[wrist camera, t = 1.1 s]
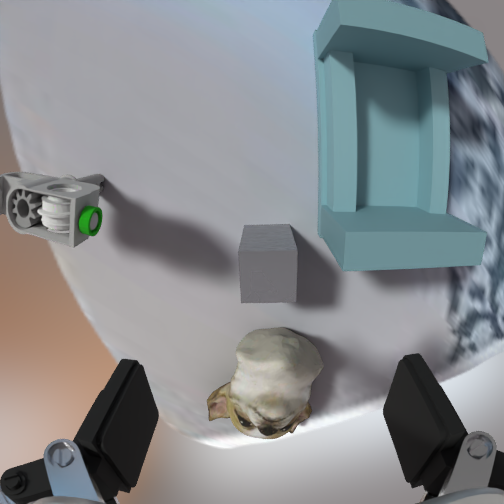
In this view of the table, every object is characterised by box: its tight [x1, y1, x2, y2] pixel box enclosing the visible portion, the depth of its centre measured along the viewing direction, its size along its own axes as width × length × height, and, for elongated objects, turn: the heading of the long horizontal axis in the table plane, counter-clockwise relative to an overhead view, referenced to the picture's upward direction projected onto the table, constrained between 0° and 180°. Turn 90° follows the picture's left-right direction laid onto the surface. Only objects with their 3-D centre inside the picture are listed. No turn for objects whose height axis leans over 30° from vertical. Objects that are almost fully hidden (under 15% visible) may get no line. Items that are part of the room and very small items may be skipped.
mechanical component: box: [0, 172, 104, 248], centre depth 18 cm, size 3×10×10 cm, turn 77°
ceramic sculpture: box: [207, 327, 324, 439], centre depth 25 cm, size 11×9×15 cm
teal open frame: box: [313, 0, 488, 271], centre depth 17 cm, size 16×10×8 cm, turn 2°
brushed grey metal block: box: [238, 224, 298, 303], centre depth 21 cm, size 4×4×6 cm
